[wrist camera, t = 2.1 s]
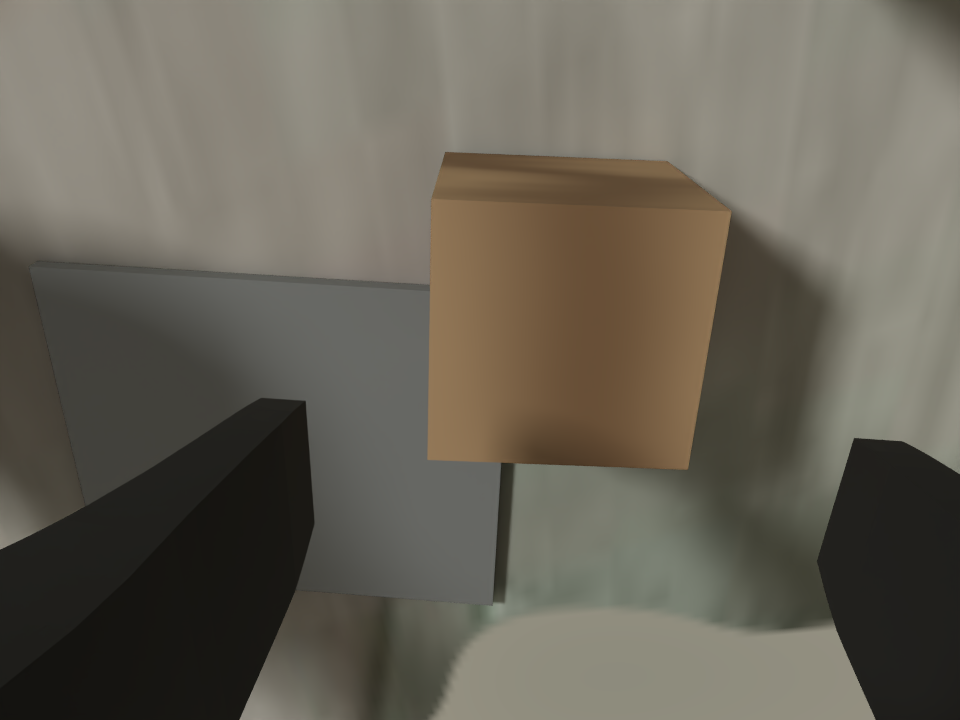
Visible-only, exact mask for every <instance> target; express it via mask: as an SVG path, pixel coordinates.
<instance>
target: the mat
mask: <svg viewBox="0 0 960 720" xmlns="http://www.w3.org/2000/svg"><path fill="white" fill-rule="evenodd" d="M29 270H30V274H31V279H32V283H33V287H34V291H35V295H36V300H37V304H38V308H39V312H40V316H41V321H42V325H43V329H44V333H45V337H46V342H47V346H48V350H49V354H50V359H51V363H52V367H53V371H54V375H55V380H56V384H57V388H58V392H59V396H60V401H61V405H62V409H63V413H64V417H65V422H66V426H67V430H68V434H69V439H70V443H71V447H72V451H73V455H74V460H75V464H76V468H77V472H78V476H79V481H80V485H81V489H82V493H83V497H84V502H85V506H87V505H89V504H90V503H92V502H94V501H96V500H97V499H99V498H101V497H102V496H104V495H106V494H108V493H109V492H111V491H113V490H114V489H116V488H118V487H120V486H121V485H123V484H125V483H126V482H128V481H130V480H131V479H133V478H135V477H137V476H138V475H140V474H142V473H143V472H145V471H147V470H148V469H150V468H152V467H153V466H155V465H156V464H158V463H159V462H161V461H163V460H164V459H166V458H167V457H169V456H170V455H172V454H173V453H175V452H177V451H178V450H180V449H181V448H183V447H184V446H186V445H187V444H189V443H190V442H192V441H194V440H195V439H197V438H198V437H200V436H201V435H203V434H204V433H206V432H207V431H209V430H210V429H212V428H213V427H215V426H216V425H218V424H219V423H221V422H222V421H224V420H225V419H227V418H229V417H230V416H232V415H233V414H235V413H236V412H238V411H239V410H241V409H243V408H244V407H246V406H247V405H249V404H251V403H253V402H254V401H256V400H258V399H260V398H272V399H286V400H301V401H306V411H307V425H308V438H309V452H310V466H311V479H312V493H313V506H314V520H315V524H314V528H313V531H312V535H311V539H310V542H309V546H308V550H307V553H306V557H305V561H304V564H303V567H302V571H301V574H300V577H299V581H298V584H297V588H296V590H301V591H314V592H327V593H339V594H352V595H365V596H377V597H390V598H403V599H416V600H428V601H441V602H454V603H466V604H479V605H492V606H493V591H494V575H495V558H496V541H497V525H498V508H499V492H500V475H501V463H496V462H469V461H442V460H427V456H428V390H429V324H430V285H421V284H405V283H388V282H372V281H355V280H339V279H322V278H306V277H289V276H273V275H256V274H240V273H224V272H207V271H191V270H174V269H158V268H141V267H125V266H108V265H92V264H75V263H59V262H43V261H37V262H36V263H34V264H32V265H31V266H29Z"/></svg>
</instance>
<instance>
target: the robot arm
mask: <svg viewBox="0 0 960 720" xmlns="http://www.w3.org/2000/svg"><path fill="white" fill-rule="evenodd" d="M314 524H315V520H314V506H313V493H312V479H311V466H310V452H309V438H308V425H307V411H306V401H301V400H286V399H272V398H260V399H258V400H256V401H254V402H253V403H251V404H249V405H247V406H246V407H244V408H243V409H241V410H239V411H238V412H236V413H235V414H233V415H232V416H230V417H229V418H227V419H225V420H224V421H222V422H221V423H219V424H218V425H216V426H215V427H213V428H212V429H210V430H209V431H207V432H206V433H204V434H203V435H201V436H200V437H198V438H197V439H195V440H194V441H192V442H190V443H189V444H187V445H186V446H184V447H183V448H181V449H180V450H178V451H177V452H175V453H173V454H172V455H170V456H169V457H167V458H166V459H164V460H163V461H161V462H159V463H158V464H156V465H155V466H153V467H152V468H150V469H148V470H147V471H145V472H143V473H142V474H140V475H138V476H137V477H135V478H133V479H131V480H130V481H128V482H126V483H125V484H123V485H121V486H120V487H118V488H116V489H114V490H113V491H111V492H109V493H108V494H106V495H104V496H102V497H101V498H99V499H97V500H96V501H94V502H92V503H90V504H89V505H87V506H85V507H84V508H82V509H80V510H78V511H77V512H75V513H73V514H71V515H69V516H67V517H65V518H64V519H62V520H60V521H58V522H56V523H54V524H52V525H50V526H48V527H46V528H44V529H42V530H40V531H38V532H36V533H34V534H32V535H30V536H28V537H26V538H24V539H22V540H20V541H18V542H16V543H13V544H11V545H9V546H7V547H5V548H3V549H1V550H0V720H239V719H240V717H241V715H242V712H243V710H244V708H245V706H246V703H247V701H248V699H249V696H250V694H251V692H252V690H253V687H254V685H255V683H256V680H257V678H258V676H259V674H260V671H261V669H262V667H263V664H264V662H265V660H266V658H267V655H268V653H269V651H270V649H271V646H272V644H273V642H274V639H275V637H276V635H277V632H278V630H279V628H280V625H281V623H282V621H283V618H284V616H285V614H286V611H287V609H288V607H289V604H290V602H291V600H292V597H293V595H294V592H295V590H296V588H297V584H298V581H299V577H300V574H301V571H302V567H303V564H304V561H305V557H306V553H307V550H308V546H309V542H310V539H311V535H312V531H313V528H314ZM817 563H818V566H819V570H820V574H821V578H822V581H823V585H824V589H825V593H826V597H827V600H828V603H829V607H830V610H831V613H832V617H833V620H834V623H835V626H836V630H837V632H838V635H839V637H840V640H841V642H842V644H843V647H844V649H845V651H846V653H847V656H848V658H849V660H850V663H851V665H852V667H853V670H854V672H855V674H856V676H857V679H858V681H859V683H860V686H861V687H862V690H863V692H864V694H865V696H866V699H867V701H868V703H869V706H870V708H871V710H872V712H873V714H874V717H875V719H876V720H960V474H958V473H957V472H955V471H953V470H952V469H950V468H949V467H947V466H945V465H944V464H942V463H940V462H939V461H937V460H936V459H934V458H932V457H930V456H929V455H927V454H925V453H924V452H922V451H920V450H918V449H916V448H914V447H912V446H910V445H909V444H907V443H905V442H902V441H889V440H874V439H860V438H854V440H853V443H852V447H851V450H850V453H849V457H848V460H847V463H846V467H845V470H844V473H843V477H842V480H841V483H840V487H839V490H838V493H837V497H836V500H835V503H834V506H833V510H832V513H831V516H830V520H829V523H828V526H827V530H826V533H825V536H824V540H823V543H822V546H821V550H820V553H819V556H818V560H817Z"/></svg>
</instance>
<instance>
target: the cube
mask: <svg viewBox="0 0 960 720" xmlns="http://www.w3.org/2000/svg"><path fill="white" fill-rule="evenodd" d="M731 213H732V211H730V210H729V209H728V208H727V207H725V206H724V205H723V204H721V203H720V202H719V201H718V200H716V199H715V198H714V197H712V196H711V195H710V194H709V193H707V192H706V191H705V190H704V189H702V188H701V187H700V186H698V185H697V184H696V183H695V182H693V181H692V180H691V179H689V178H688V177H687V176H686V175H684V174H683V173H682V172H680V171H679V170H678V169H677V168H675V167H674V166H673V165H671V164H670V163H669V162H668V161H645V160H621V159H597V158H574V157H550V156H526V155H502V154H478V153H454V152H445V155H444V158H443V162H442V165H441V169H440V172H439V175H438V179H437V182H436V185H435V189H434V192H433V195H432V199H431V258H430V324H429V390H428V456H427V460H442V461H469V462H496V463H522V464H549V465H575V466H602V467H629V468H655V469H682V470H688V466H689V460H690V454H691V448H692V442H693V436H694V430H695V425H696V419H697V413H698V407H699V401H700V395H701V389H702V383H703V377H704V372H705V366H706V360H707V354H708V348H709V342H710V336H711V330H712V324H713V319H714V313H715V307H716V301H717V295H718V289H719V283H720V277H721V271H722V266H723V260H724V254H725V248H726V242H727V236H728V230H729V224H730V218H731Z"/></svg>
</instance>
